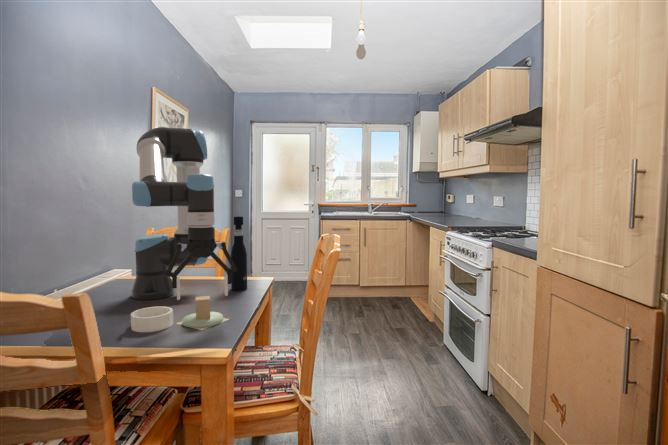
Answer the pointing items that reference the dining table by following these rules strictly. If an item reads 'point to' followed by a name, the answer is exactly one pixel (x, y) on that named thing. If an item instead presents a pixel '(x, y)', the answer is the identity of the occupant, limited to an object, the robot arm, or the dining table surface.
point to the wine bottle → (239, 258)
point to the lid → (202, 315)
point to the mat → (204, 327)
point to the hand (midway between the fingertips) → (202, 296)
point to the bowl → (151, 319)
